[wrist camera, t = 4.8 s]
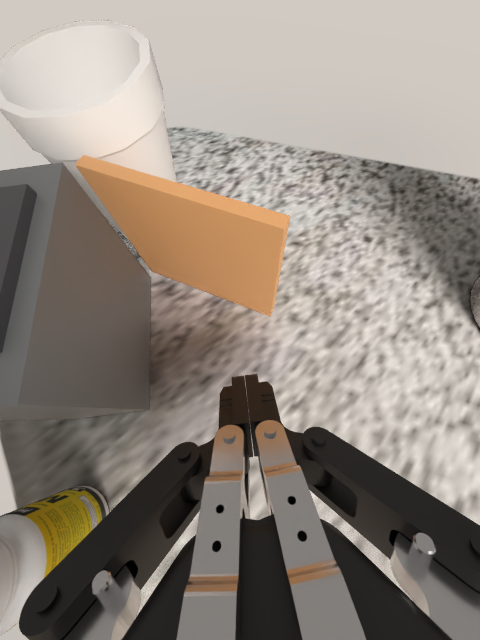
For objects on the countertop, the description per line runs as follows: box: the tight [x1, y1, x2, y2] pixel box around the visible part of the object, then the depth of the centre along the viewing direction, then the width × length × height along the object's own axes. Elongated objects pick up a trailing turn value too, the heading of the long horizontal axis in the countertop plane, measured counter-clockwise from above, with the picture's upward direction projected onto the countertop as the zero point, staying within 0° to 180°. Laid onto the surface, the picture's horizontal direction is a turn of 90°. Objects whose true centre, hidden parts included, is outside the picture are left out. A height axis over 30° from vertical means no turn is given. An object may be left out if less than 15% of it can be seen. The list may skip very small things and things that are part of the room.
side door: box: [75, 155, 290, 316], centre depth 18 cm, size 1×12×11 cm, turn 66°
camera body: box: [0, 162, 151, 421], centre depth 16 cm, size 6×12×13 cm, turn 6°
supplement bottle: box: [0, 486, 109, 635], centre depth 14 cm, size 5×5×8 cm
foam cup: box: [0, 20, 177, 240], centre depth 21 cm, size 10×9×13 cm
